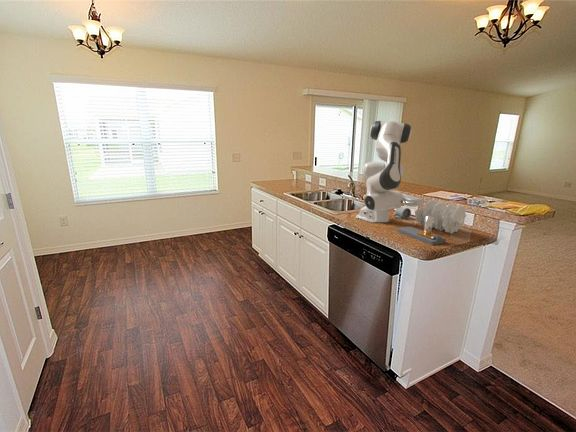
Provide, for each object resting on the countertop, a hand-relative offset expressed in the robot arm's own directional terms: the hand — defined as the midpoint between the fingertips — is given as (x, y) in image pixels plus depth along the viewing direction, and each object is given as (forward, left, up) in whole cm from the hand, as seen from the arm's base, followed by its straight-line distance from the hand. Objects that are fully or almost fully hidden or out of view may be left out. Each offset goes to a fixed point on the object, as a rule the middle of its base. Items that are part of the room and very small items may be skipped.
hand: (415, 197), depth 151 cm
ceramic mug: (-22, +45, -25) cm, 56 cm away
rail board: (+1, +13, -25) cm, 28 cm away
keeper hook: (+11, +8, -23) cm, 26 cm away
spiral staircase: (+5, +34, -25) cm, 43 cm away
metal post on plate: (+6, +11, -22) cm, 25 cm away
